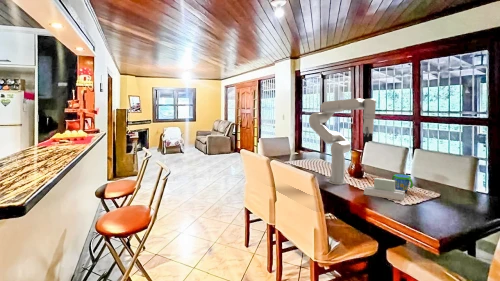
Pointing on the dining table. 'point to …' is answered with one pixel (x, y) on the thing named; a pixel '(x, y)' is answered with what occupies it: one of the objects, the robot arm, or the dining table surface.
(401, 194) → the track board
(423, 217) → the dining table surface
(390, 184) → the door panel
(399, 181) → the snack cup
